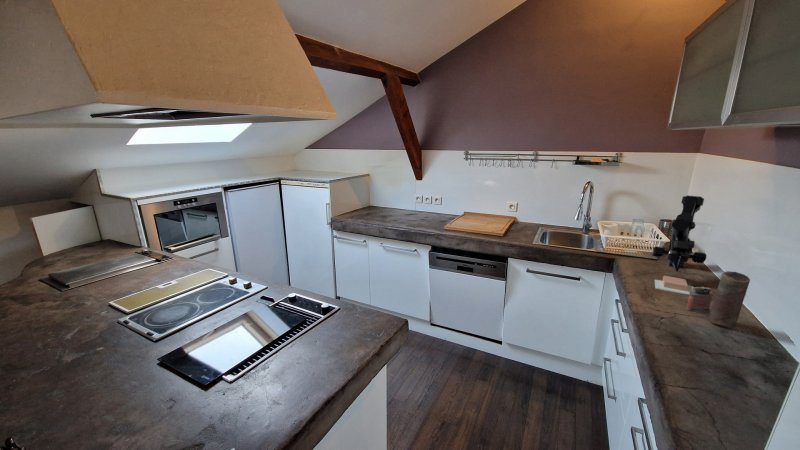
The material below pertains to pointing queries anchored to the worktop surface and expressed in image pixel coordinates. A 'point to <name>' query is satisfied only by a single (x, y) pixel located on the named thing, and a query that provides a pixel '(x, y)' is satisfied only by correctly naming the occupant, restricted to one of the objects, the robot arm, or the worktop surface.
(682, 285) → the block
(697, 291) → the lighter
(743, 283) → the rusty brown metal cylinder
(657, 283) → the mat
